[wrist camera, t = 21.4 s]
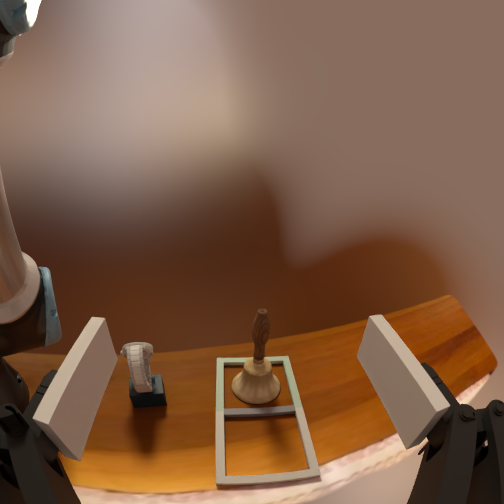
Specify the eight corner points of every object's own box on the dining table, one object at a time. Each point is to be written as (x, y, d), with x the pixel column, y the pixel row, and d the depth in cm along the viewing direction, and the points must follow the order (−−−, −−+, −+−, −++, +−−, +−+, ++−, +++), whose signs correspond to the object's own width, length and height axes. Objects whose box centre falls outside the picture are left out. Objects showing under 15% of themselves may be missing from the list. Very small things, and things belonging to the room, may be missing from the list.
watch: (162, 378, 43) (151, 330, 39) (168, 412, 36) (154, 365, 32) (132, 381, 41) (117, 333, 37) (134, 415, 34) (114, 368, 30)
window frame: (216, 485, 25) (216, 483, 24) (217, 360, 49) (217, 358, 48) (319, 476, 26) (320, 474, 26) (287, 358, 50) (288, 355, 49)
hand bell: (286, 377, 45) (297, 302, 39) (270, 410, 38) (280, 334, 32) (243, 365, 48) (245, 290, 42) (223, 394, 41) (219, 317, 35)
